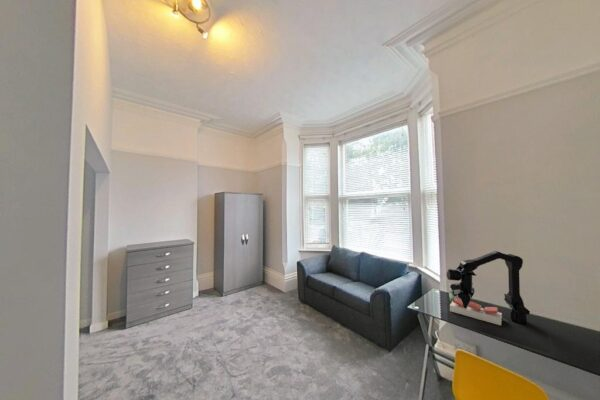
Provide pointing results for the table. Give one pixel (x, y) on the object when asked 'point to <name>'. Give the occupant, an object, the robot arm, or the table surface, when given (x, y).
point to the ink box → (453, 294)
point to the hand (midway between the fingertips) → (466, 305)
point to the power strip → (477, 314)
